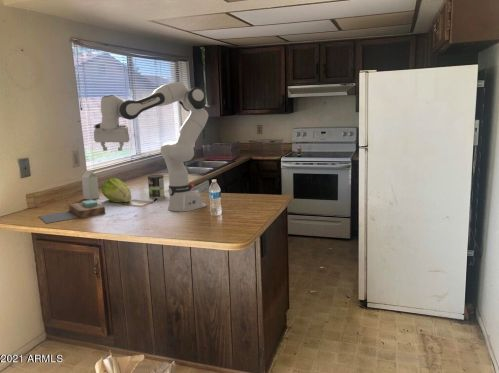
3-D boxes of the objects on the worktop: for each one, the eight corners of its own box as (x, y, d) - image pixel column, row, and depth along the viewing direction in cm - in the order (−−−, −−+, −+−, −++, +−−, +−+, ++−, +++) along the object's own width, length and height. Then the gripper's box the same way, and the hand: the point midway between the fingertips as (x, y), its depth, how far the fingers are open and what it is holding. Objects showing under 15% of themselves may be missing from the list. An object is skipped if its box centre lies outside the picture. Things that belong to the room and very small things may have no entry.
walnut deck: (93, 207, 260) (92, 200, 259) (105, 213, 242) (104, 206, 241) (69, 211, 251) (68, 204, 251) (80, 218, 234) (79, 211, 233)
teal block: (92, 203, 252) (92, 199, 252) (97, 205, 245) (97, 202, 245) (82, 204, 249) (82, 201, 249) (86, 207, 242) (86, 203, 242)
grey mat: (68, 211, 250) (68, 211, 250) (77, 218, 234) (77, 217, 234) (38, 216, 241) (38, 216, 241) (46, 223, 225) (46, 223, 225)
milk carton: (90, 200, 280) (87, 171, 276) (83, 199, 284) (80, 171, 280) (99, 197, 286) (96, 170, 282) (92, 196, 290) (90, 169, 286)
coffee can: (153, 199, 277) (151, 177, 274) (146, 196, 285) (145, 176, 282) (167, 196, 283) (166, 175, 280) (160, 194, 291) (159, 174, 288)
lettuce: (139, 208, 274) (116, 215, 265) (121, 190, 289) (99, 197, 279) (138, 188, 266) (114, 196, 257) (120, 172, 281) (97, 178, 272)
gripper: (130, 124, 231) (132, 150, 234) (98, 125, 237) (100, 149, 239) (124, 125, 225) (126, 151, 228) (91, 125, 231) (93, 151, 233)
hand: (112, 150), depth 234 cm, fingers open, 8 cm apart
